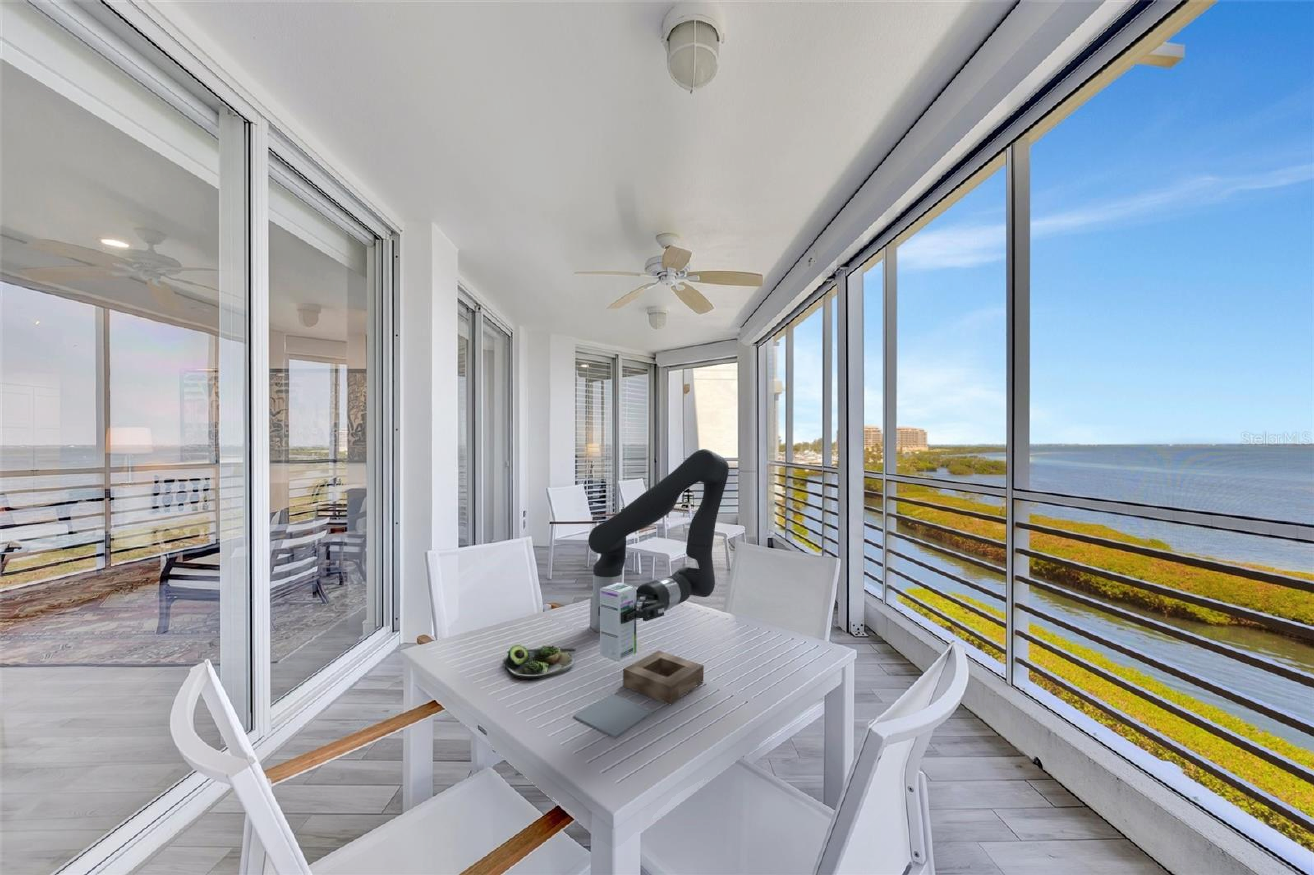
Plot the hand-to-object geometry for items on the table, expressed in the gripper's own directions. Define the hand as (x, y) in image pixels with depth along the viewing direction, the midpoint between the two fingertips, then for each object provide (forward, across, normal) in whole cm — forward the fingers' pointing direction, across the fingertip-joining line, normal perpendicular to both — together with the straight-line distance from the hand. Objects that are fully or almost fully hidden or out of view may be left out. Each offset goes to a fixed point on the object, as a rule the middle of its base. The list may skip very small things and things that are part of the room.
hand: (610, 615), depth 101 cm
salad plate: (-7, -32, +22) cm, 40 cm away
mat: (-2, 0, +22) cm, 22 cm away
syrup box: (-2, 0, +9) cm, 10 cm away
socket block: (-20, 0, +22) cm, 29 cm away
